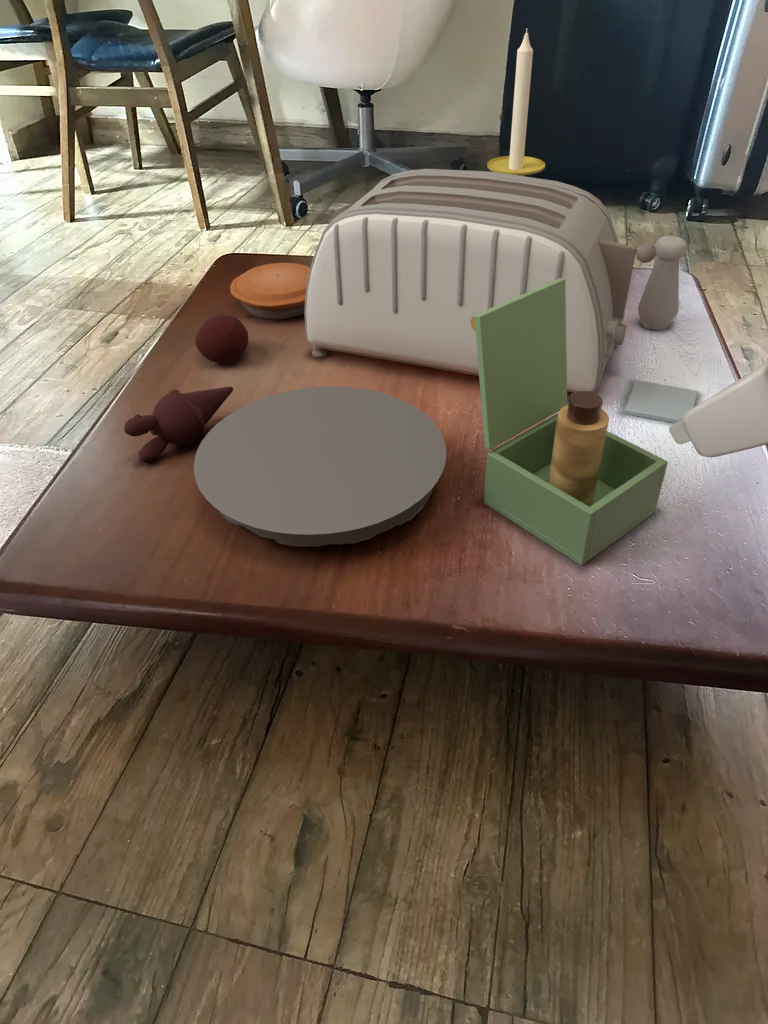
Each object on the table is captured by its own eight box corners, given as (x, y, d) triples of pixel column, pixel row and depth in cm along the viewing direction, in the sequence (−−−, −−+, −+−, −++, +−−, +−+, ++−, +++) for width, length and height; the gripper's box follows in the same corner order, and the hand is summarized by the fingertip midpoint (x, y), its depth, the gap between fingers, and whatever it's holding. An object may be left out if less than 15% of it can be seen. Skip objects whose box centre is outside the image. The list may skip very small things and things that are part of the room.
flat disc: (457, 425, 98) (458, 394, 96) (429, 580, 77) (429, 547, 74) (244, 409, 102) (239, 379, 100) (162, 553, 81) (153, 520, 79)
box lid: (565, 278, 80) (529, 273, 83) (479, 316, 74) (444, 308, 77) (567, 406, 88) (534, 396, 91) (489, 450, 81) (457, 438, 85)
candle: (514, 278, 133) (537, 20, 109) (548, 300, 126) (580, 29, 102) (463, 290, 129) (475, 26, 105) (495, 313, 122) (515, 37, 98)
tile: (696, 394, 103) (697, 390, 102) (689, 426, 97) (690, 422, 97) (634, 383, 105) (635, 379, 105) (623, 413, 100) (624, 409, 99)
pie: (251, 282, 134) (247, 254, 131) (338, 287, 131) (336, 258, 128) (219, 322, 122) (213, 292, 119) (314, 329, 120) (311, 298, 117)
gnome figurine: (207, 359, 100) (105, 415, 93) (238, 365, 95) (133, 425, 88) (227, 407, 104) (131, 464, 96) (258, 415, 98) (159, 477, 91)
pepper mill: (597, 493, 86) (616, 391, 78) (587, 521, 82) (606, 417, 74) (552, 483, 87) (566, 382, 79) (540, 510, 84) (554, 406, 76)
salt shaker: (676, 318, 120) (695, 233, 111) (673, 334, 116) (693, 248, 107) (636, 313, 121) (652, 230, 113) (633, 329, 117) (649, 244, 109)
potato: (189, 368, 111) (181, 329, 108) (216, 339, 118) (209, 302, 114) (237, 374, 110) (231, 335, 106) (262, 344, 116) (257, 306, 113)
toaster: (618, 417, 99) (653, 242, 84) (301, 360, 112) (284, 201, 98) (641, 342, 114) (674, 183, 100) (359, 299, 127) (352, 154, 113)
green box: (655, 512, 84) (668, 461, 80) (581, 566, 78) (591, 514, 74) (557, 457, 93) (564, 409, 88) (483, 503, 86) (486, 452, 82)
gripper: (911, 268, 60) (756, 340, 72) (772, 356, 50) (619, 423, 62) (949, 341, 60) (787, 401, 72) (817, 444, 50) (656, 493, 62)
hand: (708, 412), depth 67 cm, fingers open, 8 cm apart
